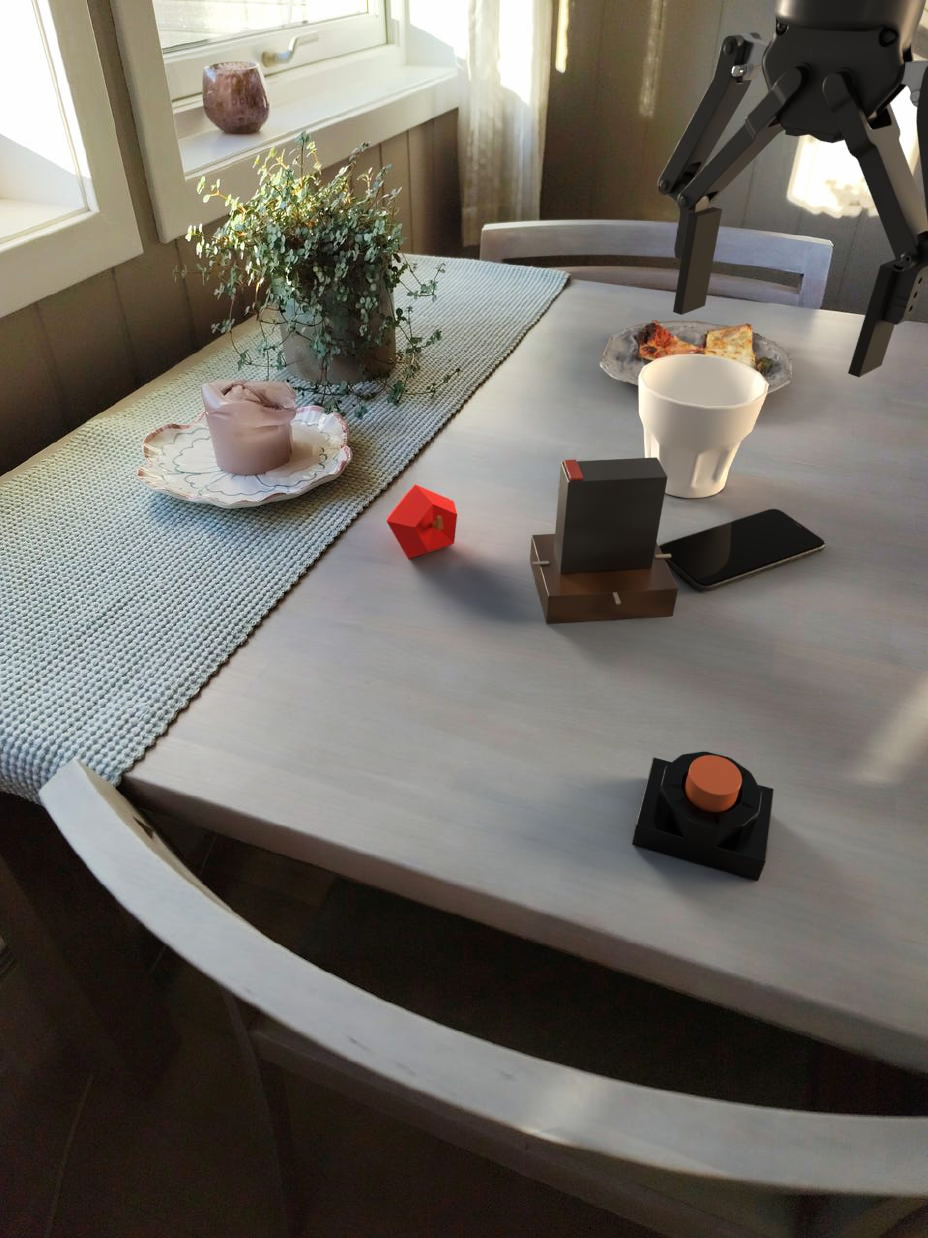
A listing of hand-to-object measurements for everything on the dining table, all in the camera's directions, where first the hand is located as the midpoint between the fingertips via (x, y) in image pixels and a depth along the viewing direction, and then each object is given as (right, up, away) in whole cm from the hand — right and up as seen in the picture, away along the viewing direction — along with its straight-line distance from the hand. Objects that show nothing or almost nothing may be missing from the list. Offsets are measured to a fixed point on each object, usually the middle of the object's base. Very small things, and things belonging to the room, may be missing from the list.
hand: (770, 337), depth 58 cm
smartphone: (+5, -13, +23) cm, 27 cm away
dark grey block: (-9, -14, +17) cm, 24 cm away
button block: (-5, -33, -1) cm, 33 cm away
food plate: (+9, +13, +54) cm, 56 cm away
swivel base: (-9, -16, +19) cm, 26 cm away
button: (-5, -30, -3) cm, 30 cm away
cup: (+3, -4, +34) cm, 34 cm away
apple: (-24, -12, +24) cm, 36 cm away
